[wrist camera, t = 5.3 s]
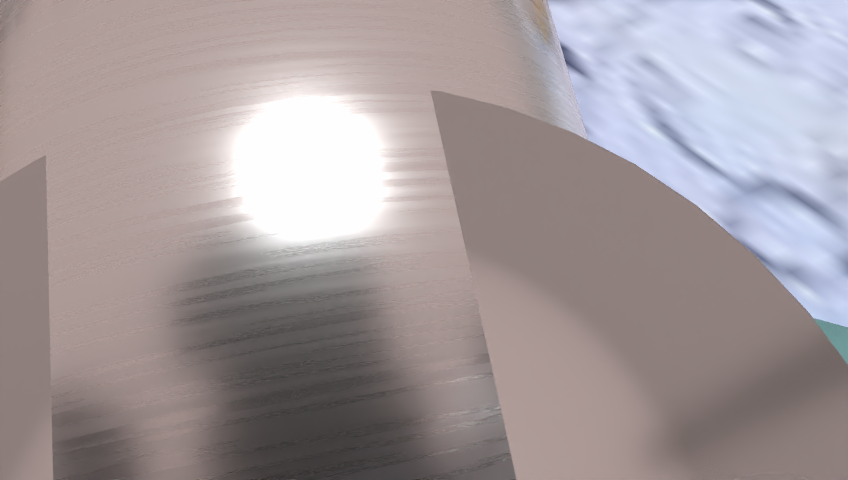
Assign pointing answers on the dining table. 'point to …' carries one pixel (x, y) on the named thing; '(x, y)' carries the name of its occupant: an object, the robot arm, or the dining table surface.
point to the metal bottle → (367, 261)
